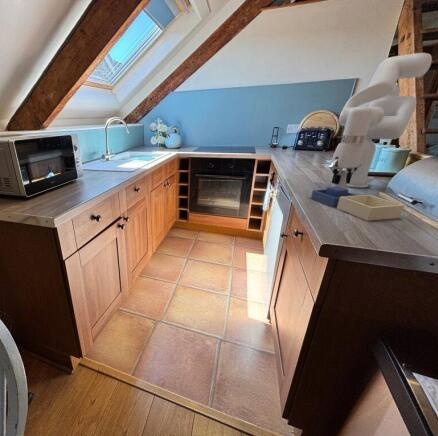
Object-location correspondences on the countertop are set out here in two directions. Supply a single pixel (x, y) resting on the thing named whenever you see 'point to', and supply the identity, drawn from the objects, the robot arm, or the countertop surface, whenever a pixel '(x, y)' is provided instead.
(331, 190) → the blue block
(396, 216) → the cream bin
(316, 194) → the blue bin
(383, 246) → the countertop surface
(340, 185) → the flask
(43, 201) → the countertop surface
